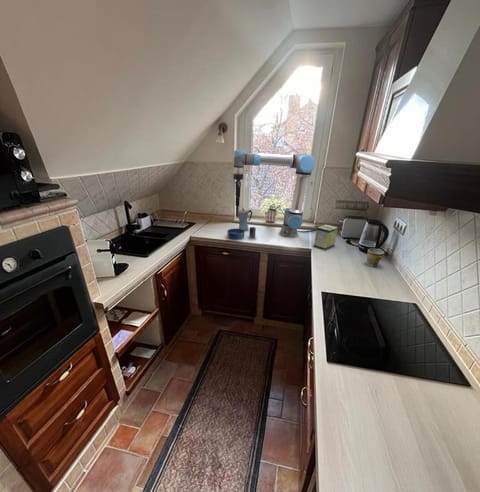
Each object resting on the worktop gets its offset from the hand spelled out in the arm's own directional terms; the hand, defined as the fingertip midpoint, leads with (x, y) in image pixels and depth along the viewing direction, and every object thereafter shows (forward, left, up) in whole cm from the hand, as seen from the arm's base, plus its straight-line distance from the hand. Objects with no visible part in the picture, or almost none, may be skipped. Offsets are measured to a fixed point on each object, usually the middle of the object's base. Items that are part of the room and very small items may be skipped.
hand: (237, 205), depth 202 cm
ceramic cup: (-87, +61, -27) cm, 110 cm away
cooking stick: (0, 0, -9) cm, 9 cm away
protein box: (-68, +23, -27) cm, 77 cm away
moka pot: (-9, -21, -27) cm, 35 cm away
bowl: (+1, 0, -27) cm, 27 cm away
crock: (-13, +1, -27) cm, 30 cm away
